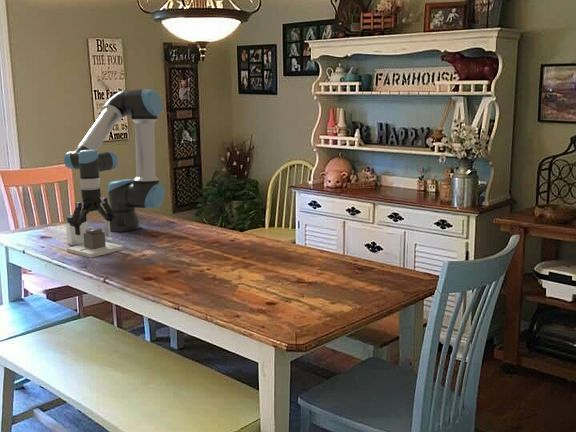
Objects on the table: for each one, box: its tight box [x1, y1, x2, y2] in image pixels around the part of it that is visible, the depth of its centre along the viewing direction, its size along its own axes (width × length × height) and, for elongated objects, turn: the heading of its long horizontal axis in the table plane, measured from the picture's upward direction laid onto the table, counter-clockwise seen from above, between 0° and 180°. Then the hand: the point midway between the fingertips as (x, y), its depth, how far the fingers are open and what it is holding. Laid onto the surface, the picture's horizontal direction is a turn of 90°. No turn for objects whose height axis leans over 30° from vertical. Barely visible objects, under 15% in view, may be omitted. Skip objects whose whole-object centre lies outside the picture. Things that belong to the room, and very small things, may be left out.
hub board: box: [66, 241, 124, 258], centre depth 269 cm, size 16×16×7 cm
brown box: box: [83, 226, 106, 249], centre depth 268 cm, size 7×7×8 cm
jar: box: [65, 214, 89, 246], centre depth 281 cm, size 9×8×12 cm
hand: (94, 239), depth 268 cm, fingers open, 13 cm apart
